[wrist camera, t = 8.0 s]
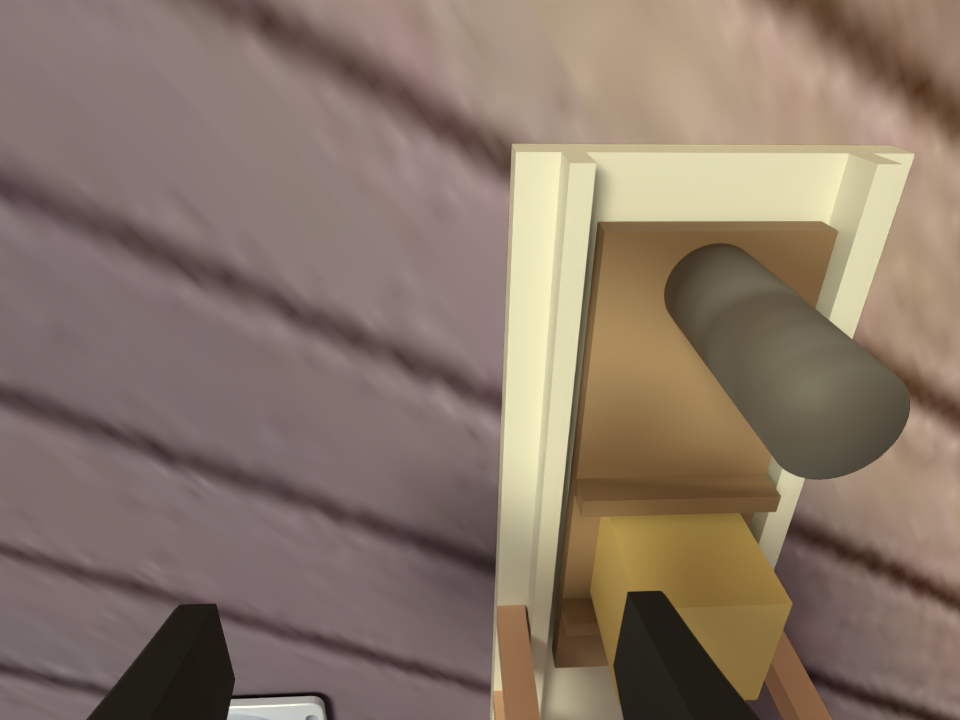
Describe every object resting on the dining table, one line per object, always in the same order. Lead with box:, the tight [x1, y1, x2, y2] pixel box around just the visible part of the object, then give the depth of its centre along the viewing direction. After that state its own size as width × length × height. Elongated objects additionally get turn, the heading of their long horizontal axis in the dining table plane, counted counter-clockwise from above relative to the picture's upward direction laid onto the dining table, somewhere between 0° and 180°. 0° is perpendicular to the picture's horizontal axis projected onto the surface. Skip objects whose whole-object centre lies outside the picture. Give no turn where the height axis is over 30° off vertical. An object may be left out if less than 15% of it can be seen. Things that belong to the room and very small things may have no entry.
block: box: [590, 513, 793, 706], centre depth 19 cm, size 4×4×4 cm
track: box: [490, 144, 915, 720], centre depth 21 cm, size 32×10×8 cm, turn 179°
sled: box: [552, 221, 910, 668], centre depth 17 cm, size 16×6×7 cm, turn 179°
